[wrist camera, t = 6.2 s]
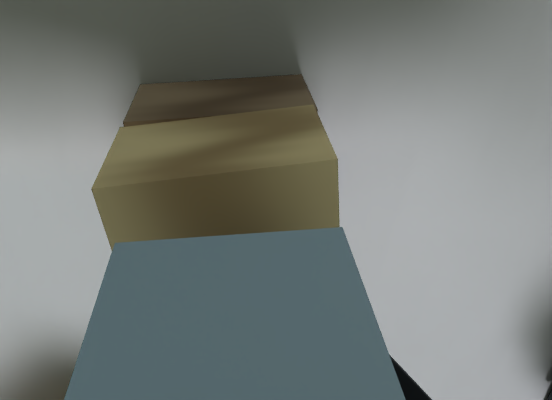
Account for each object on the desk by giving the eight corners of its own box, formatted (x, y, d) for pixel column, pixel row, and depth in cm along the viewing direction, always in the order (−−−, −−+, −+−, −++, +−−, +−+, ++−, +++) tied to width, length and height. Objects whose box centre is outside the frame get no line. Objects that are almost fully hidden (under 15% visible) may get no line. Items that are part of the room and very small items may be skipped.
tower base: (300, 72, 17) (317, 109, 14) (302, 206, 20) (315, 260, 17) (140, 83, 17) (123, 122, 14) (165, 217, 20) (155, 274, 17)
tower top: (313, 104, 14) (337, 158, 11) (321, 256, 17) (342, 332, 14) (120, 127, 14) (91, 189, 11) (161, 276, 17) (147, 358, 14)
